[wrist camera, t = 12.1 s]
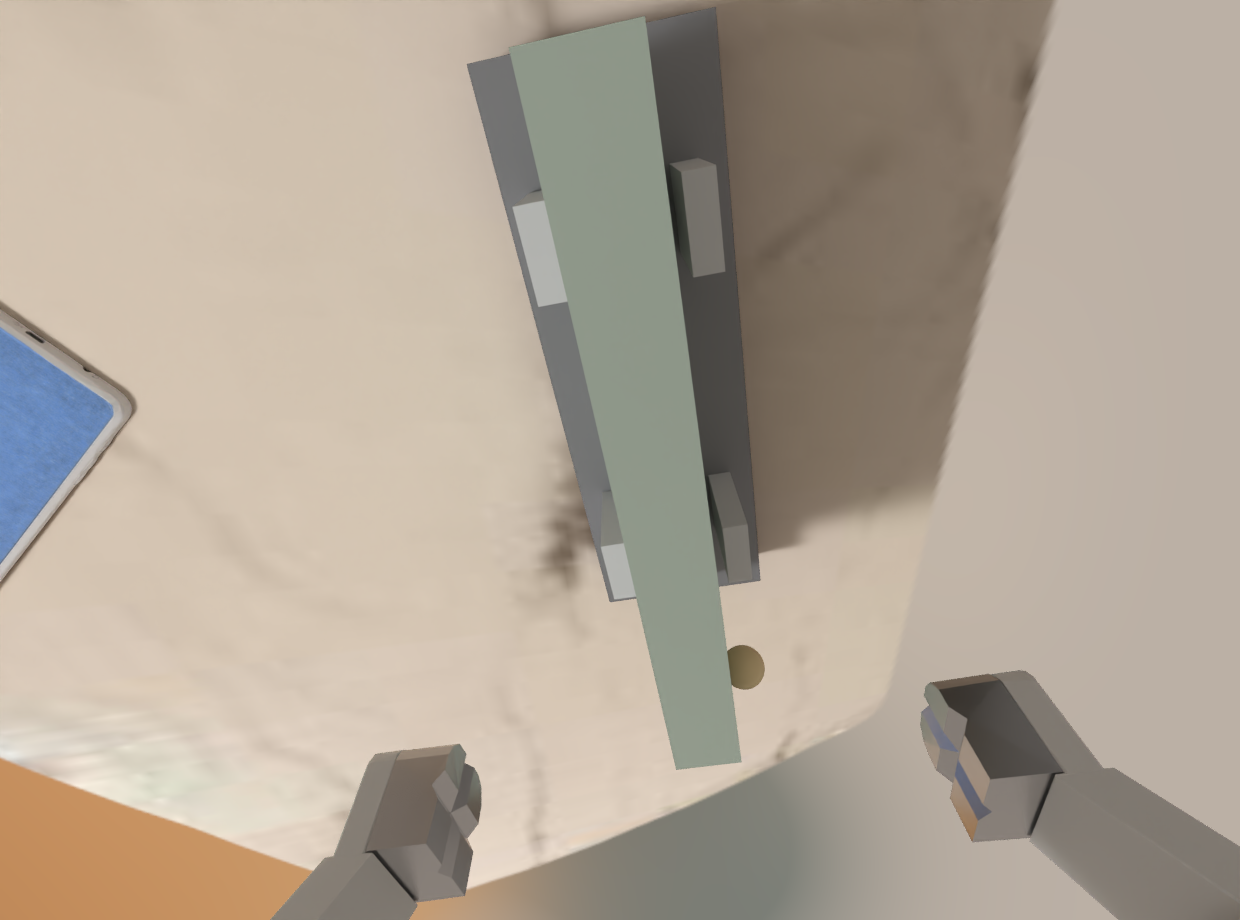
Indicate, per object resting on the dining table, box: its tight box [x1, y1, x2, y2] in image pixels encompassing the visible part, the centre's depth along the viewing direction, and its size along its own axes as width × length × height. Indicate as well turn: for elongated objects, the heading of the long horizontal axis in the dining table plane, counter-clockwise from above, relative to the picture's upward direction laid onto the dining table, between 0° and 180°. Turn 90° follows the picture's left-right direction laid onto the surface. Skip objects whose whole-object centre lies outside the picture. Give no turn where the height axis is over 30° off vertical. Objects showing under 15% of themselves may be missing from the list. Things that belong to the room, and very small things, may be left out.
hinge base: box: [467, 7, 760, 602], centre depth 23 cm, size 24×8×6 cm, turn 11°
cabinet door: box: [509, 16, 765, 770], centre depth 19 cm, size 22×4×10 cm, turn 11°
